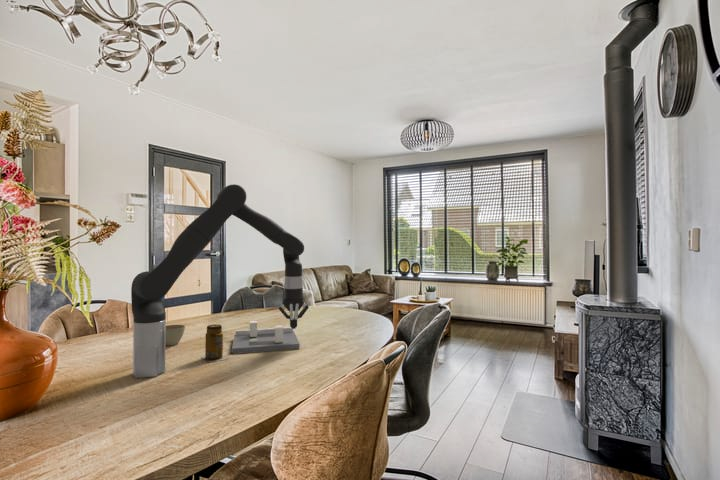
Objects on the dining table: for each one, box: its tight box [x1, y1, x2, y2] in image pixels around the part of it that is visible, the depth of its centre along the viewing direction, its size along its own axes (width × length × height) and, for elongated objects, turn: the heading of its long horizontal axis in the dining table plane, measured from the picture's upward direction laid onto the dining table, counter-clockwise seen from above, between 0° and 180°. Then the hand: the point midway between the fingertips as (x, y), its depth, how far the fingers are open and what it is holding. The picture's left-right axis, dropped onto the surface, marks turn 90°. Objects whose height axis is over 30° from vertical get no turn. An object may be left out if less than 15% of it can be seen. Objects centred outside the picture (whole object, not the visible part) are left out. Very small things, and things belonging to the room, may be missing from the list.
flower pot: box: [165, 324, 186, 346], centre depth 157 cm, size 10×10×7 cm
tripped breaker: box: [274, 324, 283, 343], centre depth 154 cm, size 4×3×6 cm
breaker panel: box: [231, 326, 301, 355], centre depth 158 cm, size 22×26×4 cm
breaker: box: [249, 320, 258, 337], centre depth 163 cm, size 4×3×6 cm
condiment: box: [200, 323, 229, 363], centre depth 139 cm, size 7×8×12 cm
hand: (293, 328), depth 156 cm, fingers closed
